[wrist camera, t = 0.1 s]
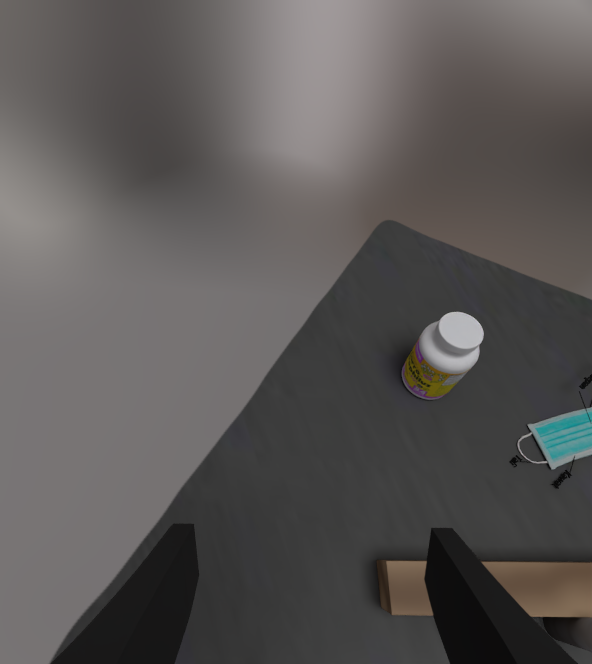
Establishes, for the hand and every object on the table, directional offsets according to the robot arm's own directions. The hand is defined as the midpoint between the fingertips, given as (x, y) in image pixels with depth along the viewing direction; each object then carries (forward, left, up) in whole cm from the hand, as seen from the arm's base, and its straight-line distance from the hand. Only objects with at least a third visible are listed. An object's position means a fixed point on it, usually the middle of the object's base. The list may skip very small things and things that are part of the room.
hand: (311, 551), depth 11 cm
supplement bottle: (+20, -17, -32) cm, 42 cm away
